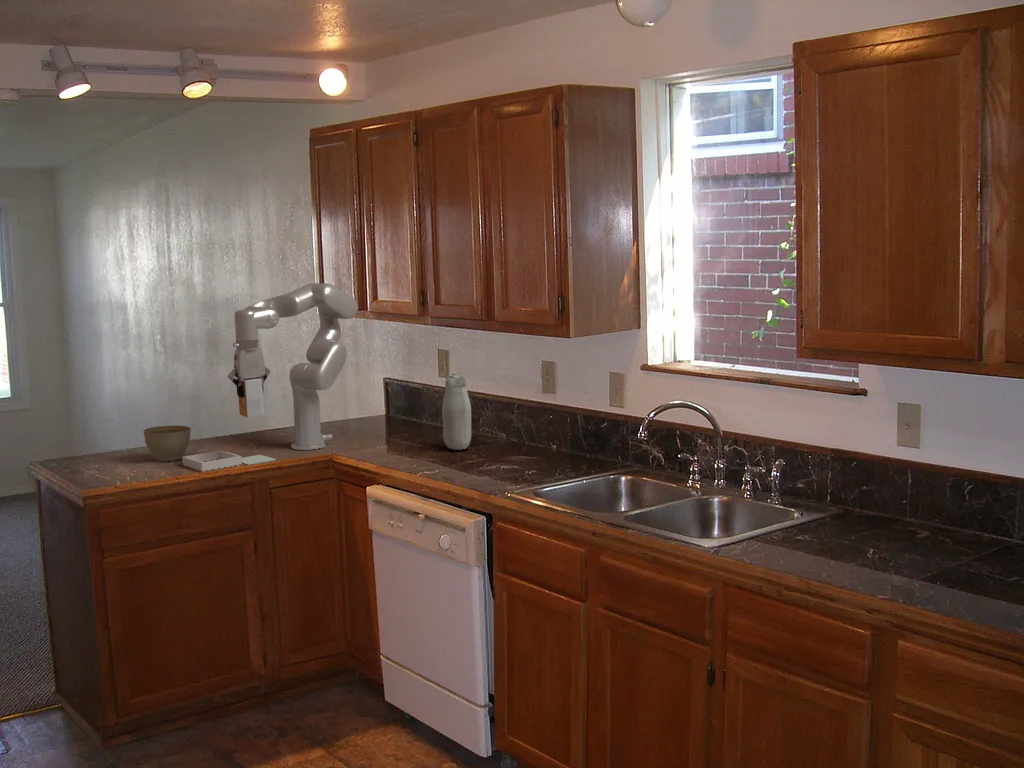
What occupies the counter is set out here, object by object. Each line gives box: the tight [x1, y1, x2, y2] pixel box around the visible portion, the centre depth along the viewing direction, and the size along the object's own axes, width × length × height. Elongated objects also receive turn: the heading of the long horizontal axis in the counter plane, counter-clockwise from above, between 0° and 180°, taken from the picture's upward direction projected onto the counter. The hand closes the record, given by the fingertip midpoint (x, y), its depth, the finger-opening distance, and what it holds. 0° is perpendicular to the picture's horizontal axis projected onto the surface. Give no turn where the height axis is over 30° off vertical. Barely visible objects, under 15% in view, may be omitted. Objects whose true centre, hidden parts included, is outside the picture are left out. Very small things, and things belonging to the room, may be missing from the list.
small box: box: [238, 377, 265, 419], centre depth 378 cm, size 8×6×13 cm
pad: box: [241, 454, 277, 466], centre depth 381 cm, size 11×11×1 cm
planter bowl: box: [143, 425, 192, 462], centre depth 385 cm, size 16×16×11 cm
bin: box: [181, 450, 243, 472], centre depth 374 cm, size 15×15×3 cm
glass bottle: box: [441, 373, 472, 451], centre depth 391 cm, size 10×10×28 cm
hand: (250, 395), depth 378 cm, fingers closed on small box, 6 cm apart
